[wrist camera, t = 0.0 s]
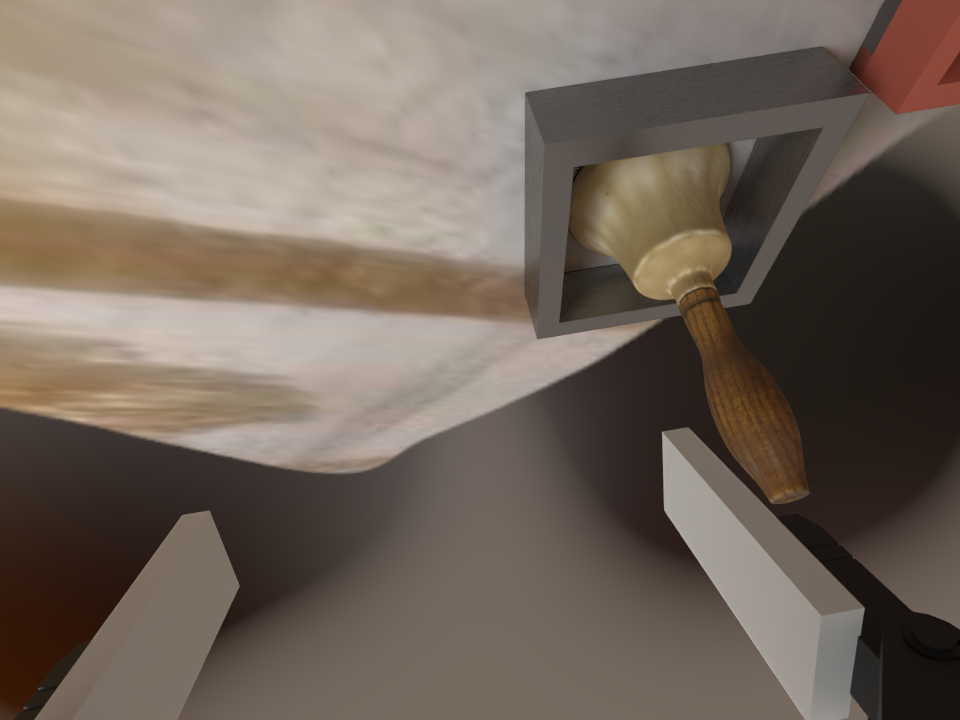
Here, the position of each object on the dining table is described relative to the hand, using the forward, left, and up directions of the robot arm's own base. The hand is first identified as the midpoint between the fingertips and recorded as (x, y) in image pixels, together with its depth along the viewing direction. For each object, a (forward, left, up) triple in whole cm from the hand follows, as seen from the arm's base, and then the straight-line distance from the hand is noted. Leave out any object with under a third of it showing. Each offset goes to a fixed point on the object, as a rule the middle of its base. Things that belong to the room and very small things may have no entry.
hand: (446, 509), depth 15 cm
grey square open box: (+3, +12, -15) cm, 19 cm away
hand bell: (+3, +12, -16) cm, 20 cm away
